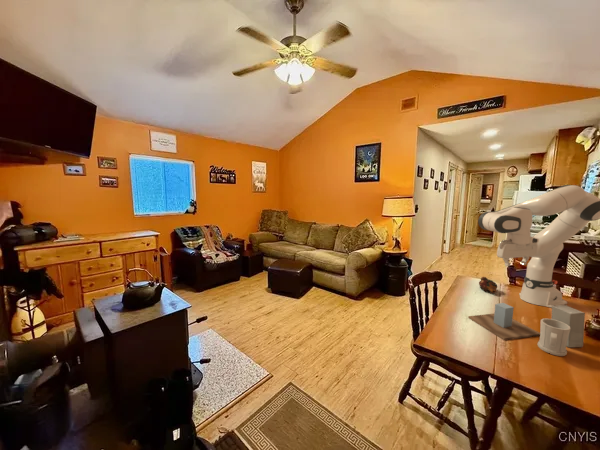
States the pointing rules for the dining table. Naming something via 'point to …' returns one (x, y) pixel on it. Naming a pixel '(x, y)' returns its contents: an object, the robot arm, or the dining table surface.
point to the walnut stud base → (504, 333)
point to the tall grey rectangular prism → (503, 315)
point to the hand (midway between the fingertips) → (515, 265)
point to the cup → (553, 337)
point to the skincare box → (571, 323)
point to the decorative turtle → (487, 285)
